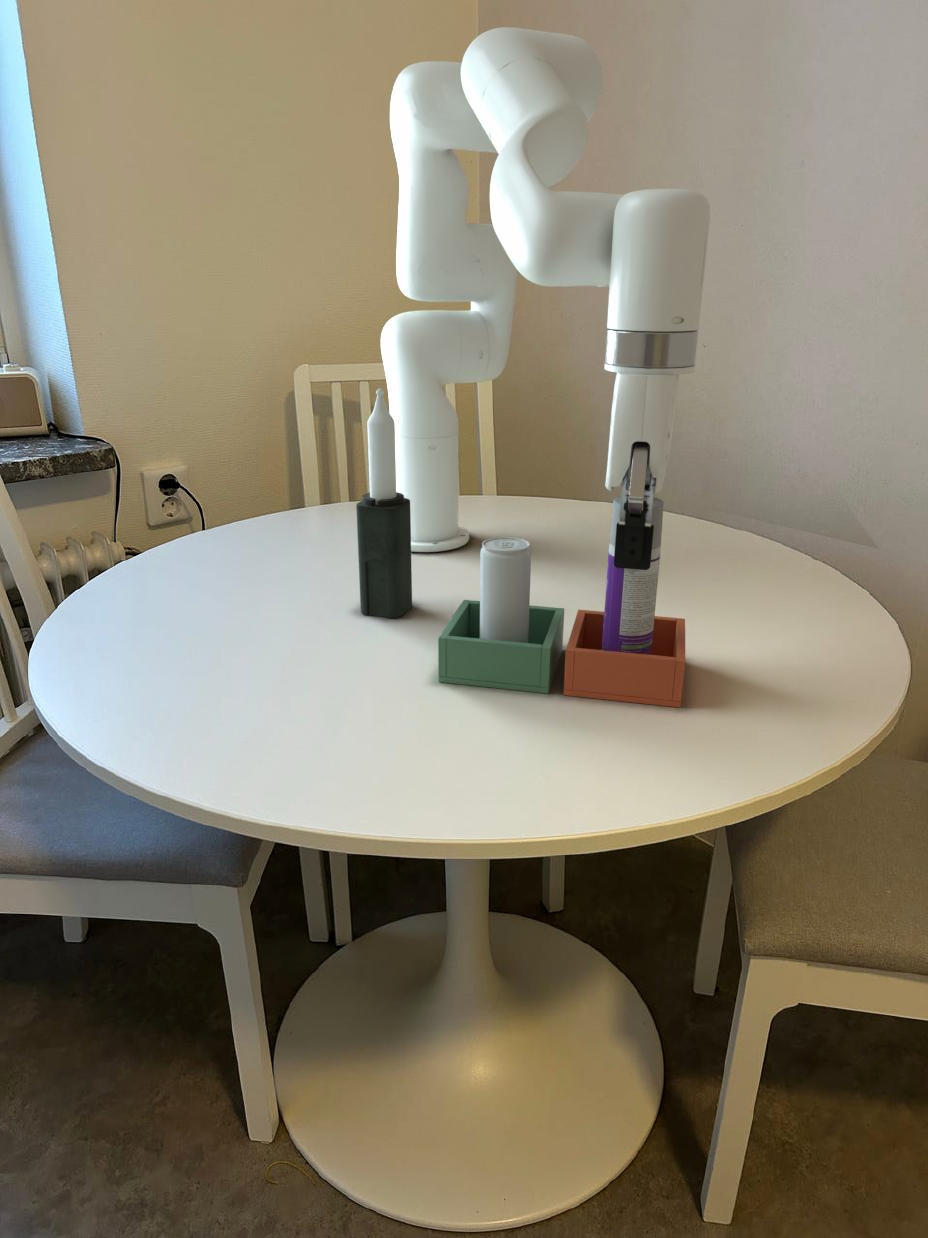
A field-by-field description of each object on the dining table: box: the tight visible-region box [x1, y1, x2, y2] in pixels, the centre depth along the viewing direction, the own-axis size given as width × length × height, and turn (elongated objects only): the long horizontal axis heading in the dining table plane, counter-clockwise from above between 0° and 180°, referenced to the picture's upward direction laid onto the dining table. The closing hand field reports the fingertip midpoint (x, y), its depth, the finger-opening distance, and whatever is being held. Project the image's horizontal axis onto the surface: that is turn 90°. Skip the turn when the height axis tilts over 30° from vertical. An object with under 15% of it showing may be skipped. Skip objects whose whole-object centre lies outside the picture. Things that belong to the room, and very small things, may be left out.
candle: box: [355, 387, 413, 619], centre depth 97 cm, size 5×5×25 cm
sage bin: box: [437, 599, 565, 694], centre depth 86 cm, size 11×11×5 cm
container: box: [602, 495, 665, 655], centre depth 81 cm, size 5×5×15 cm
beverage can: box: [479, 536, 532, 643], centre depth 85 cm, size 5×5×12 cm
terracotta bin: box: [563, 609, 686, 708], centre depth 84 cm, size 11×11×5 cm
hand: (633, 556), depth 80 cm, fingers closed on container, 4 cm apart
